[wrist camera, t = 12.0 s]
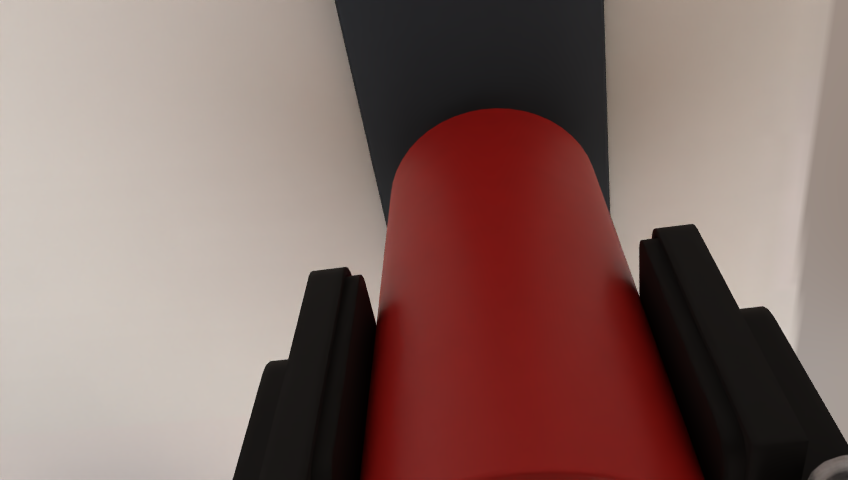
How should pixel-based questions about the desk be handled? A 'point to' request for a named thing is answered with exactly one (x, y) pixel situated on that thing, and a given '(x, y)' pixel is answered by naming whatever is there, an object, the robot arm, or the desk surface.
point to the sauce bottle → (513, 320)
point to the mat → (475, 70)
